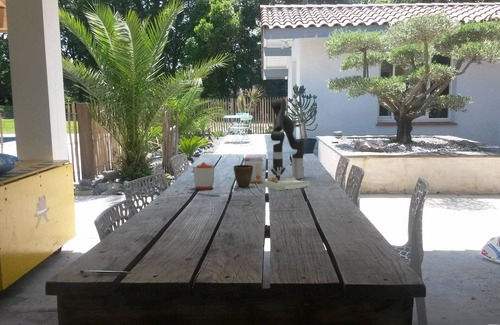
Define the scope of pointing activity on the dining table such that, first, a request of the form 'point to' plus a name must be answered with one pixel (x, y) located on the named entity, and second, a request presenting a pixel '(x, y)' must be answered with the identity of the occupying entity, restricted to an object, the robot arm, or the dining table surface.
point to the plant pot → (243, 175)
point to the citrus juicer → (203, 176)
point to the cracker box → (255, 168)
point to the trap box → (286, 184)
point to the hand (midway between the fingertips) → (277, 180)
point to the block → (272, 179)
